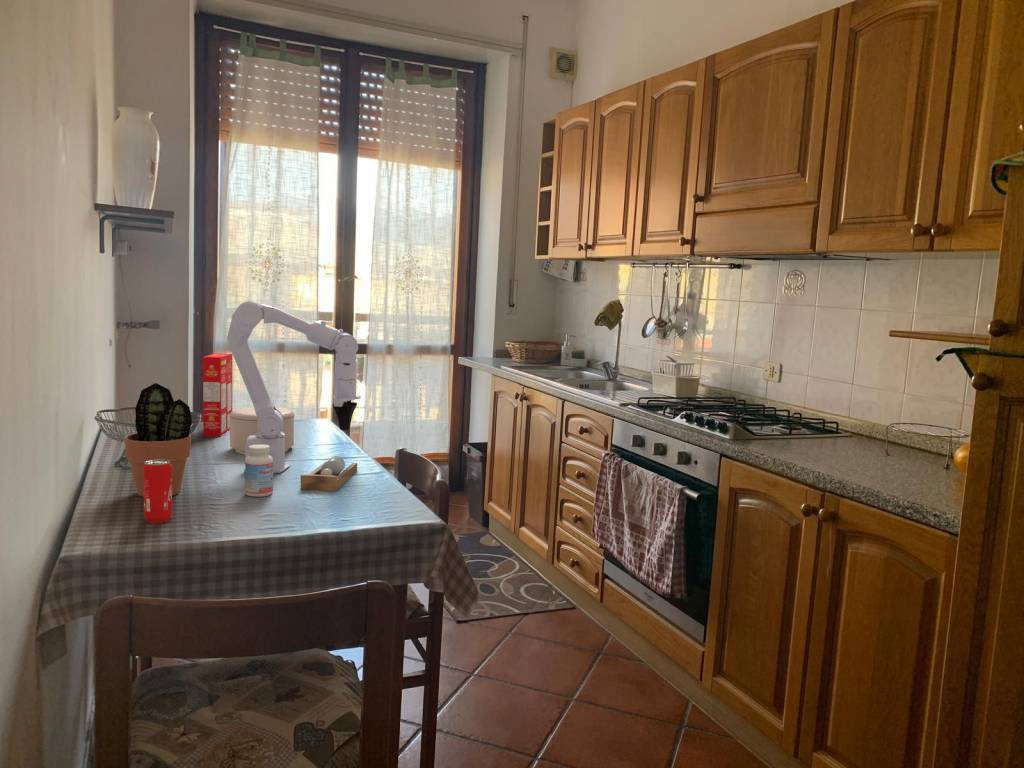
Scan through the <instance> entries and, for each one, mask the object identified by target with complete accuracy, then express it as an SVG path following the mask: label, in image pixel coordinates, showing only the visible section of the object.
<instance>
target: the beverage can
mask: <svg viewBox="0 0 1024 768" xmlns="http://www.w3.org/2000/svg"><path fill="white" fill-rule="evenodd" d="M143 485H144V497H143V517H144V519H145V520H146V523H148V524H163V522H164V523H168V522H170V521H171V518H172V516H173V495H172V465H171V463H170V461H169V460H164V459H156V460H149V461H146V462H145V465H144V466H143Z"/></svg>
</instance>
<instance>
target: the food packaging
mask: <svg viewBox="0 0 1024 768" xmlns="http://www.w3.org/2000/svg"><path fill="white" fill-rule="evenodd" d="M202 401H203V402H202V406H203V407H202V421H203V422H202V424H203V425H202V430H203V431H202V433H203V435H202V436H203V437H218V436H221V437H223V436H224V435H226V433H228V432H230V413H231V412H232V411H233V354H232V353H225V352H224V353H222V352H220V353H218V352H215V353H212V354H209V355H205V356H203V357H202ZM227 431H228V432H227ZM223 434H224V435H223Z"/></svg>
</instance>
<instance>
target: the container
mask: <svg viewBox="0 0 1024 768" xmlns="http://www.w3.org/2000/svg"><path fill="white" fill-rule="evenodd" d="M275 407H276V409H277V410H279V411H280V412H281V414H282V416H283V429H282V432H283V433H285V453H286V452H288V451H289V449H290V448H291V447H294V445H295V412H294V411H293V410H292V409H290V408H287V407H281V406H275ZM257 423H258V418H257V415H256V413H255V409H254V406H246V407H239V408H236V409H235V408H234V409H232V412H231V413H230V430H229V447H230V448H232V449H235V452H236V453H238V454H242V455H245V447H246V441H247V438H248V437H249V436H251V435H256V433H258V432H259V431H258V427H257Z"/></svg>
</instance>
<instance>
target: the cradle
mask: <svg viewBox="0 0 1024 768" xmlns="http://www.w3.org/2000/svg"><path fill="white" fill-rule="evenodd" d="M327 461H328V460H327ZM327 461H325V462H323V463H322V464H320V465H319V466H318V467H316V468H315V469H314V470H313V471H311V472H310V473H301V474H300V485H299V486H300V489H299V490H301V491H305V490H306V491H322V492H337V490H339V489H340V488H341V487H342V486H343V485H344V484H345V483H346V482H347V481H348V480H349V479H350V478H351V477H353V476H354V475H355V474H356V473H357V472H358V462H352V463H351V464H350V465H348V466H347V467H345V468H344V469H343V471H342V472H341V473H340V474H339V475H338V476H334V475H321V468H322V466H323V465H324V464H325V463H326V462H327Z"/></svg>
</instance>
